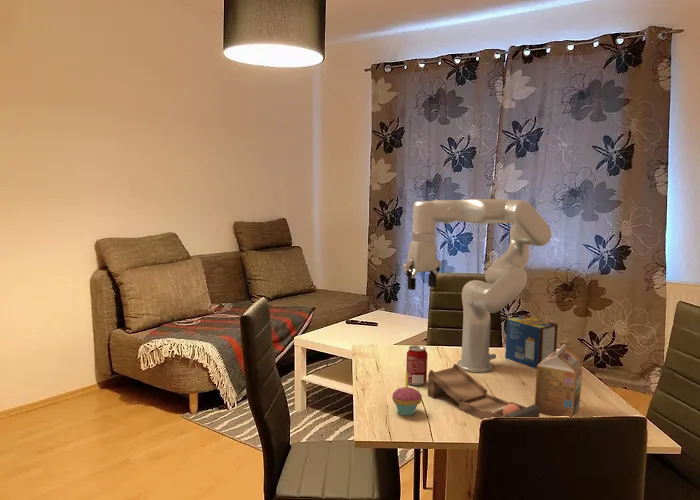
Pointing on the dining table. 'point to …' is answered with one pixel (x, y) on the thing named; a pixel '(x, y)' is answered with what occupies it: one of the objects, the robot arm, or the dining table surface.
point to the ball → (510, 409)
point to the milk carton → (559, 383)
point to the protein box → (530, 340)
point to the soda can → (417, 365)
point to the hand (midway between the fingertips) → (421, 287)
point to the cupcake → (406, 399)
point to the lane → (472, 395)
